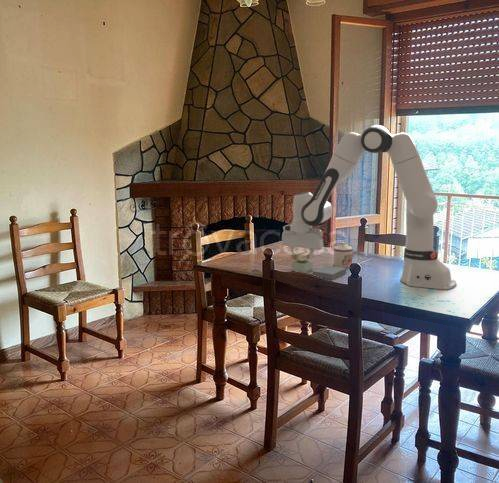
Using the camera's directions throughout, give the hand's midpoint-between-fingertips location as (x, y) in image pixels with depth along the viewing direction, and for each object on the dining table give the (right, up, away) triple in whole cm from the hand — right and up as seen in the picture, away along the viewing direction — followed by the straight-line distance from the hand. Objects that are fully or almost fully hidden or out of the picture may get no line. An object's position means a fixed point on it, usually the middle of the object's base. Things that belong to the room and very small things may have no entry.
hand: (302, 256), depth 241 cm
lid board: (0, -1, 0) cm, 0 cm away
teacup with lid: (+22, -5, +10) cm, 24 cm away
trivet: (+12, -8, -6) cm, 16 cm away
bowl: (0, -7, +1) cm, 7 cm away
